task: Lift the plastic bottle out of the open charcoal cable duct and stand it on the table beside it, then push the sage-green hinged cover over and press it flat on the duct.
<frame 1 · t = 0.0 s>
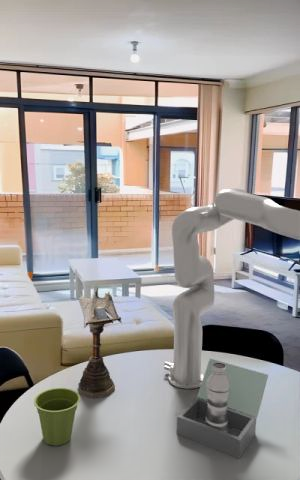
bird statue: (100, 392, 135), on the table
duct cover: (232, 386, 121), point 9 cm above the table, hinge at 130.0°
cable duct: (215, 433, 114), on the table
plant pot: (57, 438, 111), on the table
plastic bottle: (215, 434, 115), resting in cable duct
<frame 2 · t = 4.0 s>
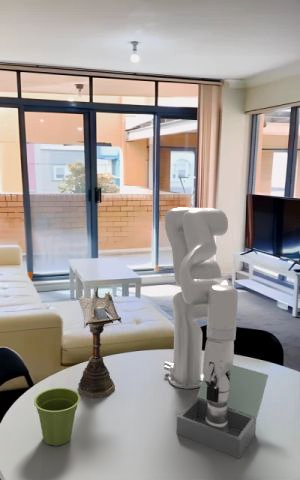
hand: (217, 394, 113), 12 cm above the table, tool pointing down, fingers closed on plastic bottle, 6 cm apart
plastic bottle: (215, 434, 115), resting in cable duct, touching gripper
everything else where it was.
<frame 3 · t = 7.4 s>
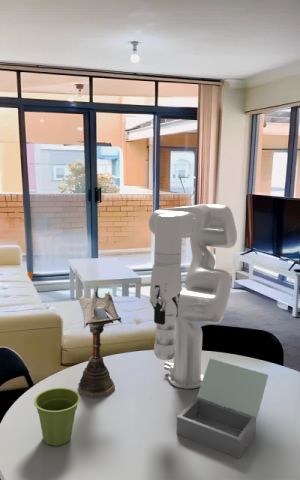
hand: (165, 319, 119), 29 cm above the table, tool pointing down, fingers closed on plastic bottle, 6 cm apart
plastic bottle: (164, 358, 121), point 17 cm above the table, touching gripper
everything else where it was.
when the fingers open (13 cm above the table, at t = 10.8 s): plastic bottle drops 1 cm, on the table.
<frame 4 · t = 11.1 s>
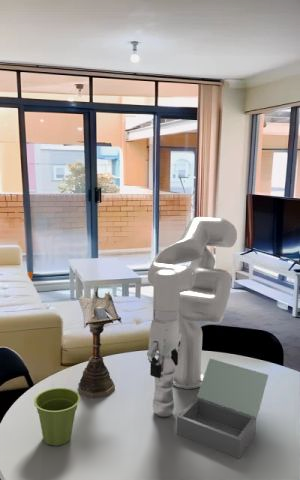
hand: (164, 370, 121), 14 cm above the table, tool pointing down, fingers open, 9 cm apart
plastic bottle: (163, 414, 124), on the table
everything else where it was.
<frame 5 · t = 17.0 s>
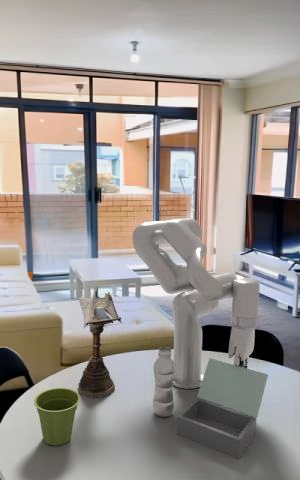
hand: (240, 377, 127), 9 cm above the table, tool pointing down, fingers closed
duct cover: (231, 386, 121), point 10 cm above the table, hinge at 128.3°, touching gripper
everything else where it was.
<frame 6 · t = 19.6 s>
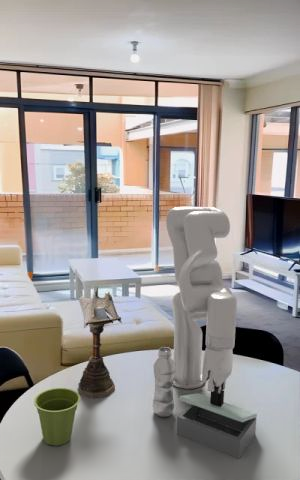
hand: (216, 404, 113), 9 cm above the table, tool pointing down, fingers closed
duct cover: (218, 406, 114), point 8 cm above the table, hinge at 21.1°, touching gripper
everything else where it was.
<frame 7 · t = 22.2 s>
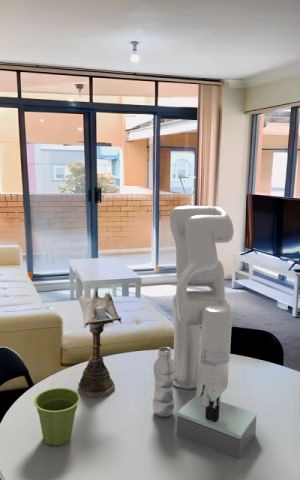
hand: (212, 418, 111), 6 cm above the table, tool pointing down, fingers closed
duct cover: (216, 414, 114), point 6 cm above the table, hinge at 0.4°, touching gripper
everything else where it was.
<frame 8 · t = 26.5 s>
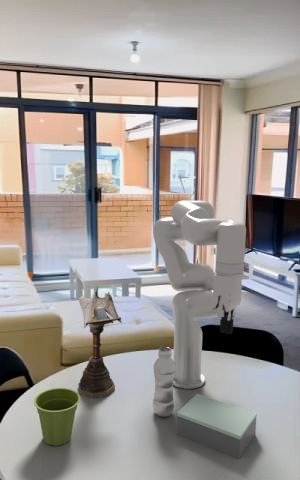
hand: (226, 332, 116), 27 cm above the table, tool pointing down, fingers closed
duct cover: (216, 414, 114), point 6 cm above the table, hinge at -0.1°
everything else where it was.
at the end: duct cover at +0° (first picture: +130°); plastic bottle inside the target area (0.1 cm from its centre), on the table; plastic bottle tilted 0° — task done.
